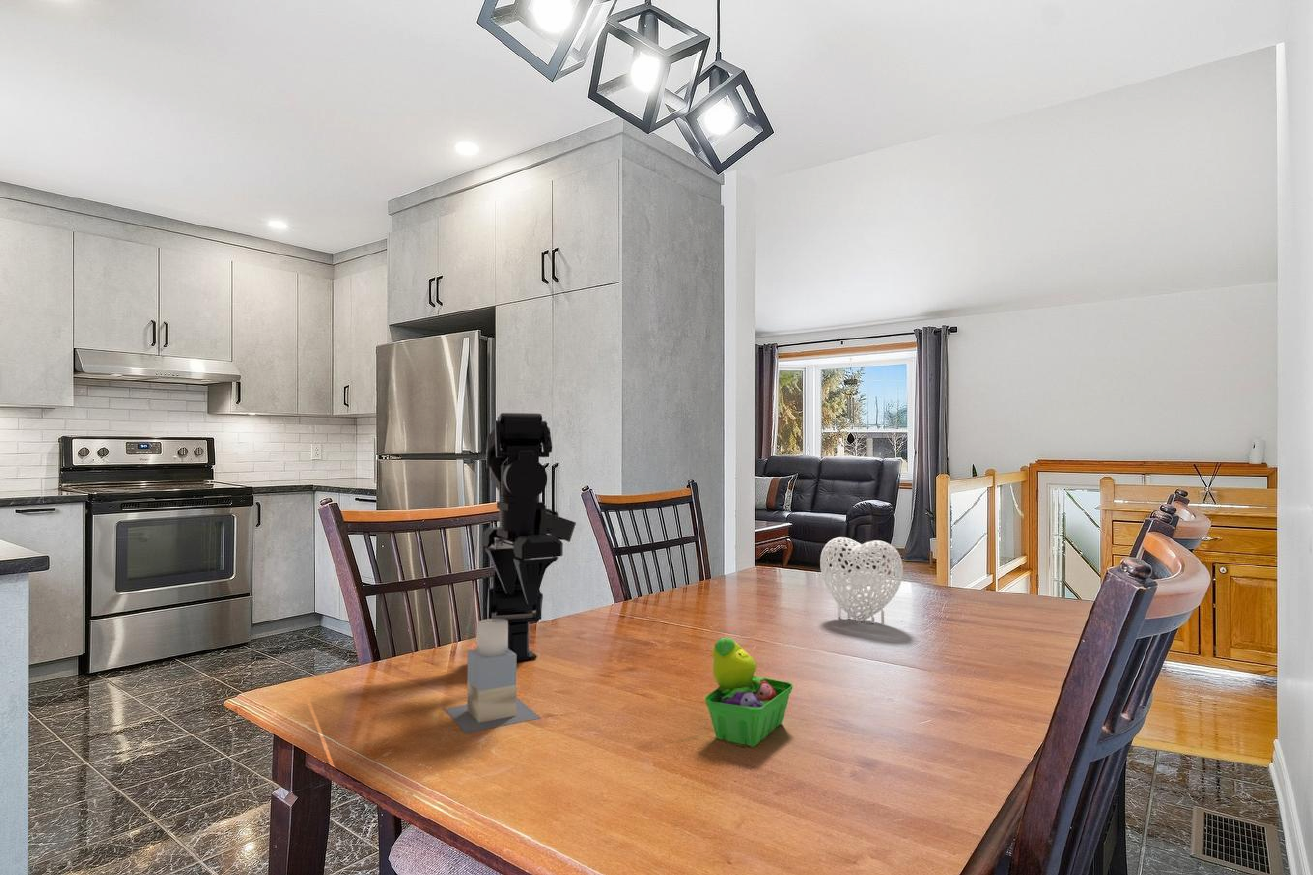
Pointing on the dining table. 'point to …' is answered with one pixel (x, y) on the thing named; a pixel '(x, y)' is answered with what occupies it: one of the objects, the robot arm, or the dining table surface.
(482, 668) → the top block
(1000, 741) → the dining table surface
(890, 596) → the decorative heart
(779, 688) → the fruit basket
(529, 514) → the robot arm
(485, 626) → the white cylinder
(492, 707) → the bottom block
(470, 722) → the mat
